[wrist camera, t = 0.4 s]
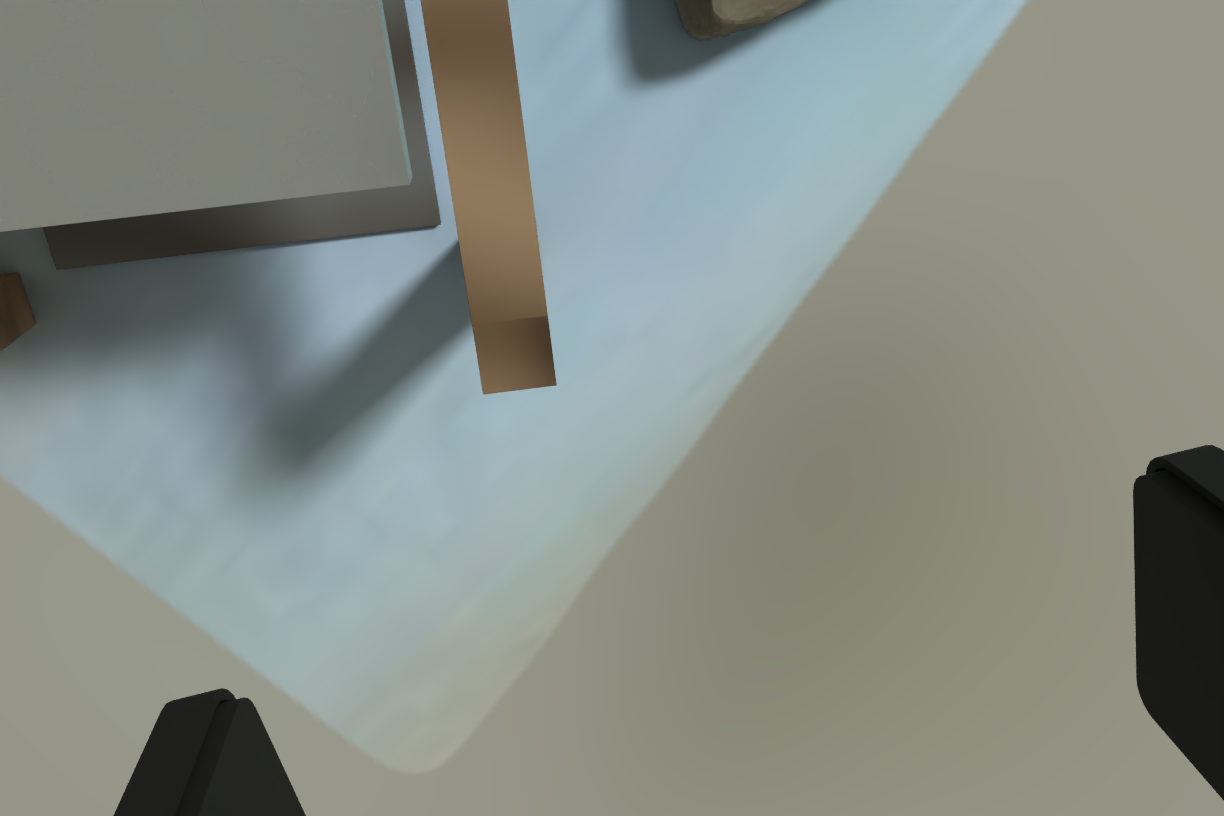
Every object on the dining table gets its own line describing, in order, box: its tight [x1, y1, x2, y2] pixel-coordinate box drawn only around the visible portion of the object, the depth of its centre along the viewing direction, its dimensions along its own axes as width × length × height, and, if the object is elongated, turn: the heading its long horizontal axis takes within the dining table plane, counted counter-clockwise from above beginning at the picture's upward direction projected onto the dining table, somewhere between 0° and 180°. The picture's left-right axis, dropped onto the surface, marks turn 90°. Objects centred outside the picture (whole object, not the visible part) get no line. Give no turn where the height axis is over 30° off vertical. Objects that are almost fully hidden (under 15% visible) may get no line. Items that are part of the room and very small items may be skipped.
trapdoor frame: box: [0, 0, 556, 394], centre depth 29 cm, size 20×21×13 cm
